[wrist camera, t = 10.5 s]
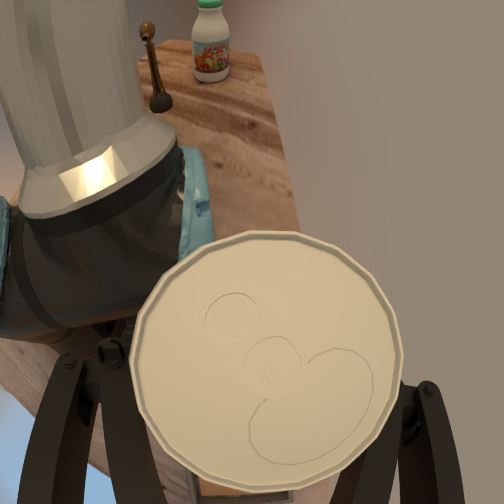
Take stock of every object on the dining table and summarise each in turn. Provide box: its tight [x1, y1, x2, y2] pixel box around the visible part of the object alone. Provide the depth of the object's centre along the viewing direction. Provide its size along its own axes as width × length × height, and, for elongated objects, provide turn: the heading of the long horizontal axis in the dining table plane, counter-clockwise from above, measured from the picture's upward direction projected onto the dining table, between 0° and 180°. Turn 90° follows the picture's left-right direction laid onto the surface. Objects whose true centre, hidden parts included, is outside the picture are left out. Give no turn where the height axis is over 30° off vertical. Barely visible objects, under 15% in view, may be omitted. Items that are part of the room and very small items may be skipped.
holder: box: [185, 467, 293, 504], centre depth 27 cm, size 13×13×2 cm
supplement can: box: [129, 231, 404, 493], centre depth 13 cm, size 8×8×15 cm
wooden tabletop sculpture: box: [139, 21, 173, 113], centre depth 38 cm, size 6×5×20 cm
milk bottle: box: [192, 0, 229, 83], centre depth 42 cm, size 8×8×20 cm
